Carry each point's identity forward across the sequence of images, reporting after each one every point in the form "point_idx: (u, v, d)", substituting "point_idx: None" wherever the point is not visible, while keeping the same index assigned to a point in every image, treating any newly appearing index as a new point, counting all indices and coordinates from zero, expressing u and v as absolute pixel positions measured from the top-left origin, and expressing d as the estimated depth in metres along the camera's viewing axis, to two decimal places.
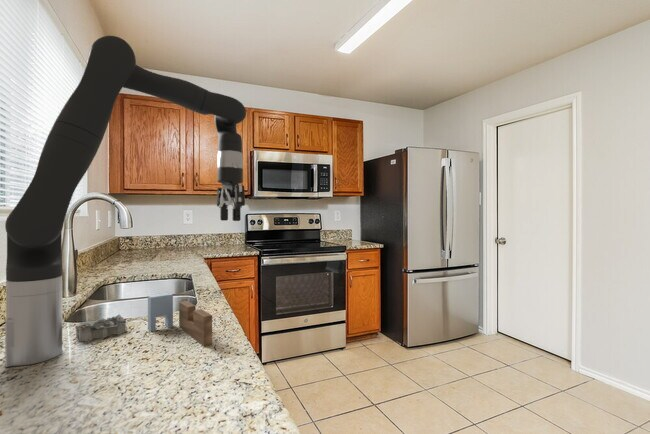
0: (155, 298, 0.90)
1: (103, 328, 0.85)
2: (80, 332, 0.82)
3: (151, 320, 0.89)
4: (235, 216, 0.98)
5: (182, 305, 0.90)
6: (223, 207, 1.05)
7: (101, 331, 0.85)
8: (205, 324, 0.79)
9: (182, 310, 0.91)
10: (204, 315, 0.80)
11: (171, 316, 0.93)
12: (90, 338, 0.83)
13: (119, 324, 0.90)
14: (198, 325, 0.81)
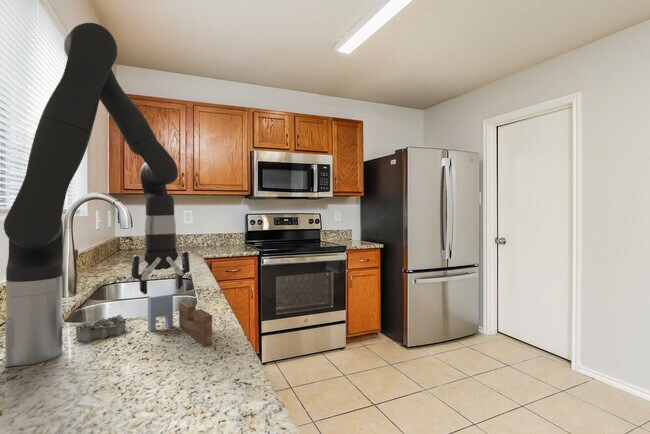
0: (155, 298, 0.90)
1: (102, 328, 0.85)
2: (79, 332, 0.83)
3: (151, 320, 0.89)
4: (181, 284, 0.95)
5: (182, 305, 0.90)
6: (145, 278, 0.89)
7: (100, 331, 0.85)
8: (205, 324, 0.79)
9: (182, 310, 0.91)
10: (204, 315, 0.80)
11: (171, 316, 0.93)
12: (89, 338, 0.83)
13: (119, 324, 0.90)
14: (198, 325, 0.81)
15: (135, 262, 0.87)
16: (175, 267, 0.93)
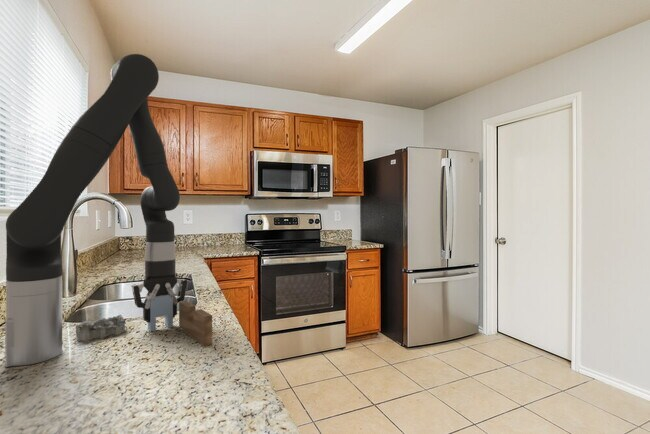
0: (155, 298, 0.90)
1: (101, 328, 0.85)
2: (78, 332, 0.83)
3: (151, 320, 0.89)
4: (175, 312, 0.94)
5: (182, 305, 0.90)
6: None
7: (99, 331, 0.85)
8: (205, 324, 0.79)
9: (182, 310, 0.91)
10: (204, 315, 0.80)
11: (171, 316, 0.93)
12: (88, 338, 0.83)
13: (119, 324, 0.90)
14: (198, 325, 0.81)
15: (136, 292, 0.87)
16: (171, 295, 0.93)
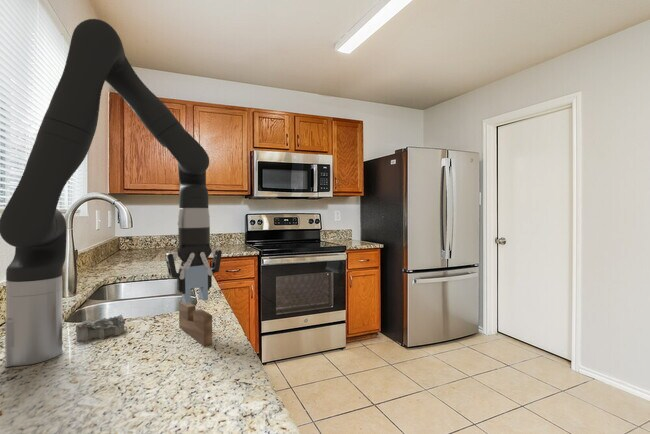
0: (190, 268, 0.84)
1: (100, 328, 0.85)
2: (77, 331, 0.83)
3: (186, 291, 0.84)
4: (210, 284, 0.88)
5: (182, 305, 0.90)
6: None
7: (98, 331, 0.85)
8: (205, 324, 0.79)
9: (182, 310, 0.91)
10: (204, 315, 0.80)
11: (206, 288, 0.87)
12: (86, 338, 0.83)
13: (118, 324, 0.90)
14: (198, 325, 0.81)
15: (170, 260, 0.81)
16: (206, 265, 0.87)
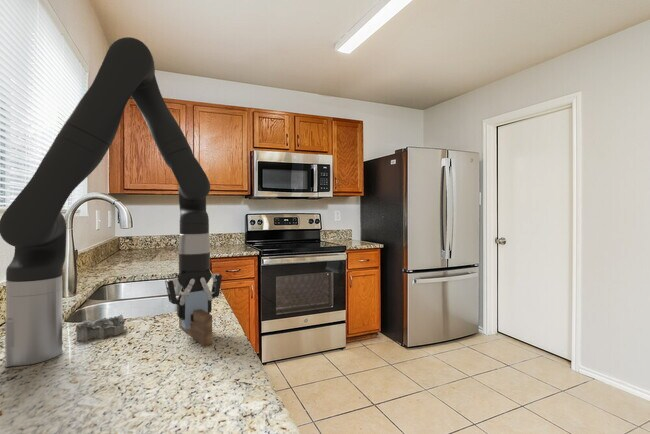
0: (190, 294, 0.84)
1: (99, 328, 0.85)
2: (77, 331, 0.83)
3: (186, 317, 0.84)
4: (210, 309, 0.88)
5: None
6: None
7: (98, 331, 0.85)
8: (205, 324, 0.79)
9: None
10: (204, 315, 0.80)
11: None
12: (86, 338, 0.83)
13: (118, 324, 0.90)
14: (198, 325, 0.81)
15: (170, 287, 0.81)
16: (206, 290, 0.87)
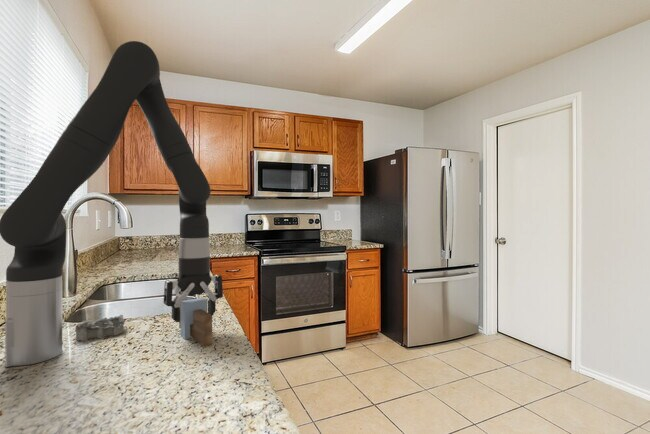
0: (189, 304, 0.84)
1: (99, 328, 0.85)
2: (76, 331, 0.83)
3: (185, 327, 0.84)
4: (214, 310, 0.89)
5: None
6: None
7: (97, 331, 0.85)
8: (205, 324, 0.79)
9: None
10: (204, 315, 0.80)
11: None
12: (85, 337, 0.83)
13: (118, 325, 0.90)
14: (198, 325, 0.81)
15: (168, 288, 0.81)
16: (209, 292, 0.87)
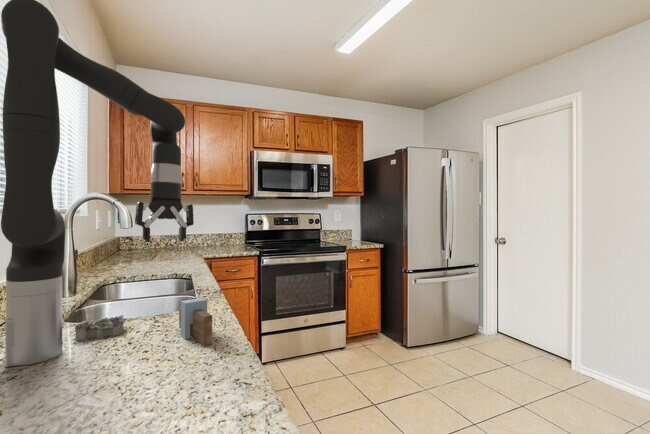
0: (189, 304, 0.84)
1: (98, 328, 0.85)
2: (76, 330, 0.83)
3: (185, 327, 0.84)
4: (184, 236, 0.94)
5: None
6: (148, 226, 0.88)
7: (96, 331, 0.85)
8: (205, 324, 0.79)
9: None
10: (204, 315, 0.80)
11: None
12: (84, 337, 0.83)
13: (118, 325, 0.89)
14: (198, 325, 0.81)
15: (139, 208, 0.86)
16: (179, 218, 0.92)
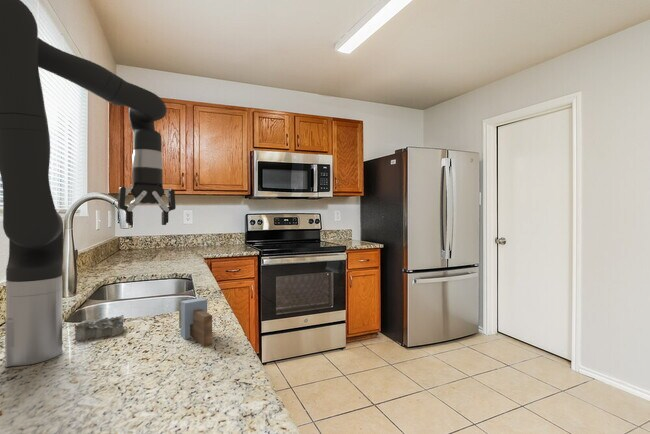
0: (189, 304, 0.84)
1: (97, 328, 0.85)
2: (75, 330, 0.84)
3: (185, 327, 0.84)
4: (167, 220, 0.97)
5: None
6: (131, 210, 0.92)
7: (96, 331, 0.85)
8: (205, 324, 0.79)
9: None
10: (204, 315, 0.80)
11: None
12: (83, 337, 0.83)
13: (118, 325, 0.89)
14: (198, 325, 0.81)
15: (121, 192, 0.89)
16: (161, 202, 0.95)
